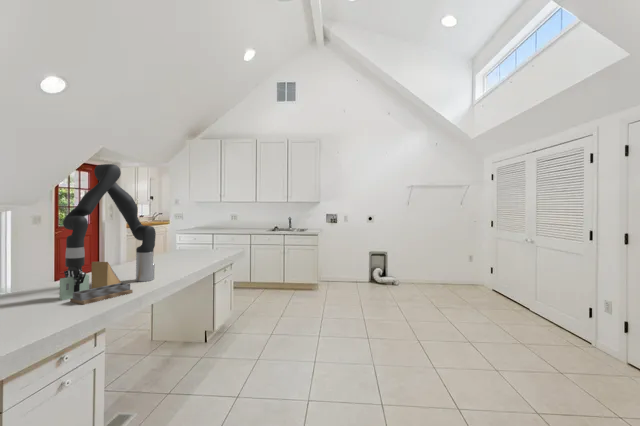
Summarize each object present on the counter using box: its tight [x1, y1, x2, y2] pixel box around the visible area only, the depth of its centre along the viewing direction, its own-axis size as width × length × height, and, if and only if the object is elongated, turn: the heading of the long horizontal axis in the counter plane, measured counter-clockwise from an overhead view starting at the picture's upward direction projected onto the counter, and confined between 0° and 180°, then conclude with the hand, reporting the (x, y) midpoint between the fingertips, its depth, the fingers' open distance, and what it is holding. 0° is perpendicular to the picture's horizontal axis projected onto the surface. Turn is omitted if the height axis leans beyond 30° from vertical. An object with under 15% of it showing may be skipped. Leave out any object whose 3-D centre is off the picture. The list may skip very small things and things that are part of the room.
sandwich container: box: [91, 261, 122, 289], centre depth 186 cm, size 9×15×15 cm, turn 4°
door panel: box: [59, 273, 90, 301], centre depth 162 cm, size 12×3×10 cm, turn 157°
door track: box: [69, 282, 133, 305], centre depth 163 cm, size 24×10×4 cm, turn 157°
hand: (74, 291), depth 163 cm, fingers closed on door panel, 2 cm apart
